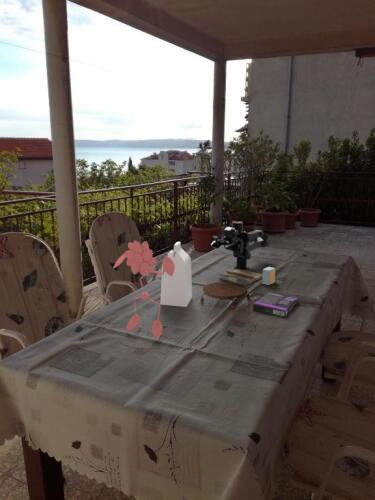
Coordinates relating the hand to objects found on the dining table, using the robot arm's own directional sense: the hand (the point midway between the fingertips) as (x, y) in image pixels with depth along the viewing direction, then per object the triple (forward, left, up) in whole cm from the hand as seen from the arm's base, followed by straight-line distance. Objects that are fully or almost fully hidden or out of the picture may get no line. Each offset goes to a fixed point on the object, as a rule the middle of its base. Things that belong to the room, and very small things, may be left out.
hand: (218, 247), depth 202 cm
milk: (+39, +5, -17) cm, 43 cm away
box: (+15, +41, -18) cm, 47 cm away
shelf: (-10, +9, -17) cm, 22 cm away
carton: (-10, +24, -17) cm, 31 cm away
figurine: (+75, +19, -17) cm, 79 cm away
